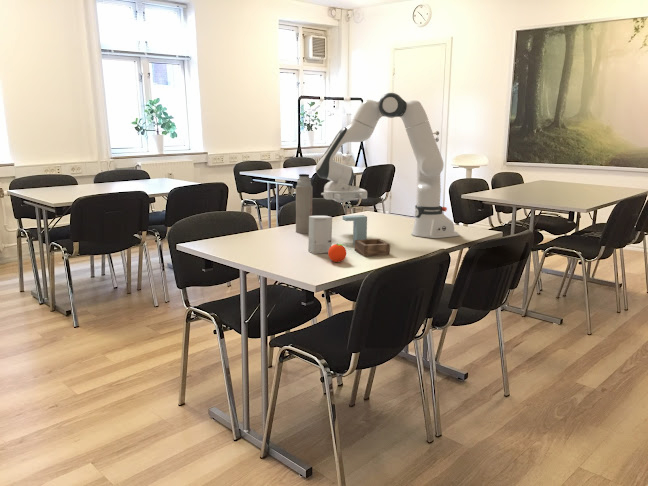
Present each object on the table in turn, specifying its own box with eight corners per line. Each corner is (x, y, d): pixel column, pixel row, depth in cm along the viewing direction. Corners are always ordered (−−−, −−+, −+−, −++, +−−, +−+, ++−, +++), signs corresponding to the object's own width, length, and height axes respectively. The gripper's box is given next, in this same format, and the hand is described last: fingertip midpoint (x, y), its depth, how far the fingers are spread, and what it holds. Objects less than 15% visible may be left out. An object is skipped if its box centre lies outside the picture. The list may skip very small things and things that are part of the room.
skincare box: (313, 254, 216) (313, 217, 213) (307, 251, 222) (307, 215, 218) (332, 252, 219) (332, 216, 216) (326, 249, 225) (326, 214, 222)
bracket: (362, 244, 235) (363, 215, 233) (366, 246, 231) (367, 216, 229) (342, 245, 233) (342, 215, 230) (345, 247, 228) (346, 217, 226)
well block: (379, 249, 226) (379, 238, 225) (389, 255, 216) (390, 244, 215) (354, 250, 223) (354, 240, 222) (364, 256, 213) (364, 245, 212)
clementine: (347, 259, 208) (347, 241, 206) (350, 264, 201) (350, 245, 200) (326, 260, 207) (327, 241, 206) (329, 264, 200) (329, 245, 199)
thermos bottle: (313, 230, 266) (314, 173, 260) (310, 233, 258) (310, 175, 252) (298, 229, 268) (298, 173, 262) (294, 232, 260) (294, 174, 254)
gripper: (319, 186, 249) (328, 190, 236) (361, 186, 255) (372, 189, 242) (319, 200, 250) (328, 204, 237) (360, 199, 256) (371, 203, 243)
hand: (350, 196), depth 240 cm, fingers open, 8 cm apart
